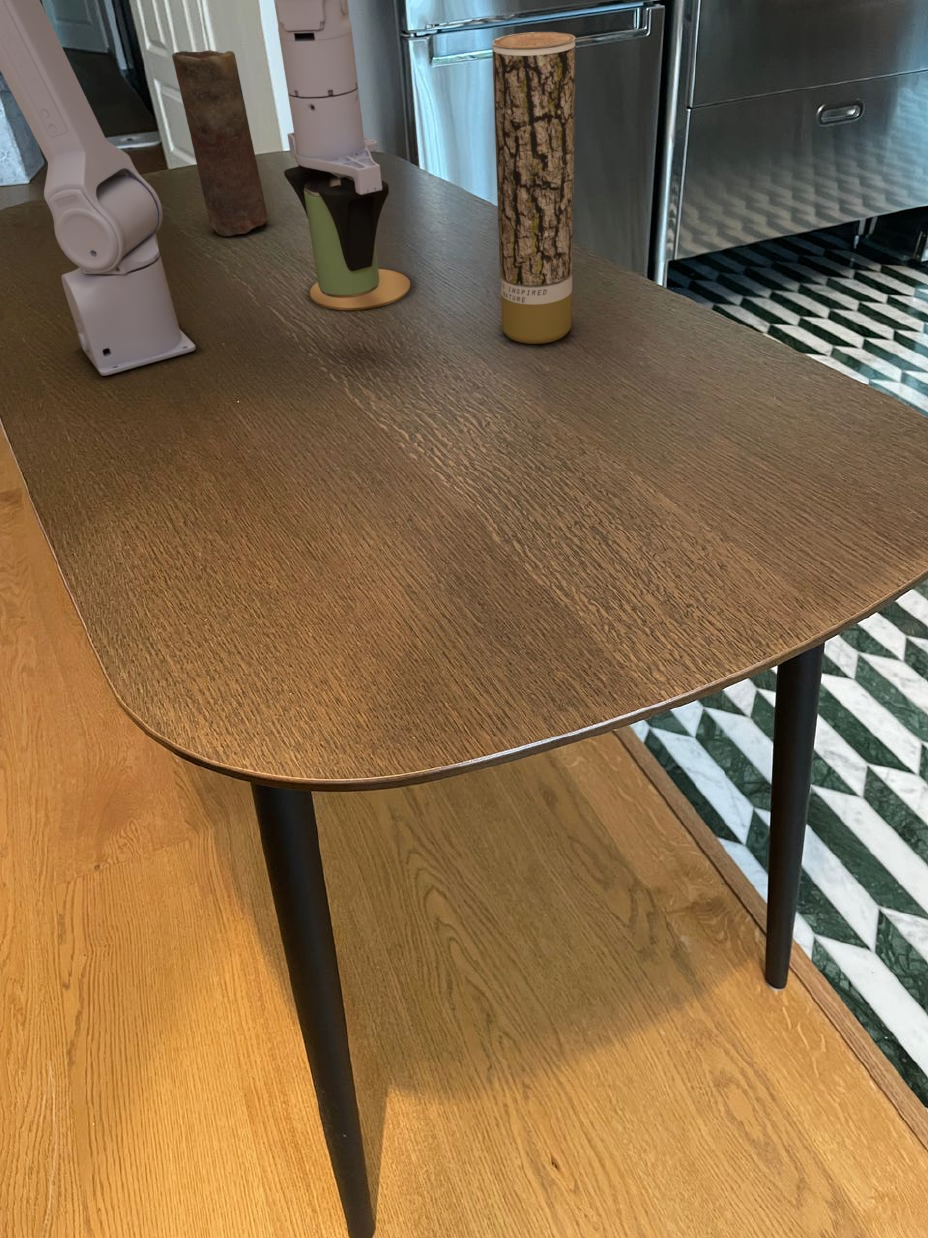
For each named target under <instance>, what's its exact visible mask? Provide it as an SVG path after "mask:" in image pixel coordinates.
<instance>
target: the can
mask: <svg viewBox="0 0 928 1238" xmlns="http://www.w3.org/2000/svg"><path fill="white" fill-rule="evenodd" d="M336 185H340V186H341V183H340V178H339V177H337V176H335V175H328V176H323V177H319V178H316V179H313V180H311V181H309V182H307V183H306V184H305V186H304V188H305V189H304V196H305V202H306V208H307V215H308V218H307V220H308V227H309V235H310V240H311V246H312V252H313V257H314V258H313V260H314V267H315V273H316V278H317V282H318V286H319V288H320V290H321V292H322V293H323V294H325V295H327V296H330V297H336V298H350V297H357V296H362V295H365V294H368V293H370V292H372V291H374V290H375V289H376V288H377V287H378V285H379V271H378V269H379V265H378V264H379V263H378V255H377V246H376V244H375V246H374V255H373V262H372V266H371V267H367V268H364V269H360V270H356V271H350V270H349V269H348V267H347V265H346V262H345V260H344V256H343V253H342V249H341V244H340V240H339V236H338V233H337V229H336V227H335V224H334V221H333V219H332V216H331V214H330V212H329V210H328V208H327V206H326V204H325V203H324V201H323V200H322V198H321V197H320V195H319V191H318V190H319V189H322V188H327V187H331V186H336ZM307 215H306V216H307Z"/></svg>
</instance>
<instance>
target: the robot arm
mask: <svg viewBox="0 0 928 1238" xmlns="http://www.w3.org/2000/svg"><path fill="white" fill-rule="evenodd" d="M273 2H274V8H275V15H276V21H277V31H278V37H279V45H280V51H281V57H282V64H283V70H284V77H285V82H286V83H285V84H286V89H287V90H286V91H287V97H288V103H289V108H290V116H291V123H292V128H293V132H288V133H287V134H286V135H287V140H288V141H287V142H288V148H289V153H290V157H291V158H292V159H295V162H296V164H297V166H293V167H290V168H286V169H285V170H284V171H283V174H284V177H285V179H286V180H287V182H288V183H289V185H290V186H291V187H292V189H293V191H294V192H295V194H296V196H297V198H298V199H299V202H300V203H301V206H302V208H303V210H304V212H305V215H306V218H307V219H308V215H307V208H306V202H305V196H304V189H305V188H304V186H305V184H306V183H307V182H309V181H311V180H313V179H316V178H319V177H323V176H328V175H335V176H337V177H339V178H340V183H341V186H340V185H336V186H331V187H327V188H322V189H319V190H318V191H319V195H320V197H321V198H322V200H323V201H324V203H325V204H326V206H327V208H328V210H329V212H330V214H331V216H332V219H333V221H334V224H335V227H336V229H337V233H338V236H339V240H340V244H341V249H342V253H343V256H344V260H345V262H346V265H347V267H348V269H349V270H350V271H356V270H360V269H364V268H367V267H371V266H372V262H373V255H374V246H375V245H376V236H377V229H378V225H379V220H380V217H381V213H382V209H383V207H384V205H385V203H386V200H387V198H388V196H389V193H390V186H389V183H387V182H386V181H384V180H382V173H381V164H378V163H377V162H375V161H374V159H373V156H372V154H371V153H372V152H376V151H378V141H377V140H375V139H373V138H370V137H365V136H364V135H365V134H364V126H363V118H362V110H361V100H360V90H359V80H358V73H357V63H356V56H355V55H356V54H355V46H354V45H355V44H354V38H353V30H352V29H353V28H352V27H353V26H352V22H351V19H350V12H349V3H348V0H273ZM0 73H1V74H2V77H3V78H4V80H5V82H6V84H7V86H8V88H9V90H10V92H11V94H12V96H13V98H14V100H15V101H16V103H17V105H18V107H19V110H20V112H21V114H22V115H23V118H24V120H25V121H26V123H27V125H28V127H29V128H30V130H31V133H32V134H33V136H34V139H35V140H36V142H37V145H38V146H39V148H40V150H41V152H42V154H43V156H44V158H45V160H46V162H47V172H46V177H45V183H44V189H43V198H44V200H45V202H46V204H47V206H48V208H49V210H50V213H51V215H52V219H53V227H54V235H55V239H56V241H57V243H58V245H59V247H60V249H61V250H62V252H63V253H64V255H65V256H66V257H67V259H69V261H71V262H72V263H73V264H75V265H76V266H78V268H76V269H74V270H72V271H69V272H66V273H64V274H62V275H61V284H62V288H63V291H64V295H65V297H66V301H67V303H68V306H69V310H70V312H71V315H72V319H73V321H74V324H75V328H76V331H77V336H78V340H79V343H80V345H81V349H82V350H83V352H84V354H86V356H87V357H88V359H89V360H90V362H91V363H92V365H93V366H94V368H95V369H96V371H98V373H99V374H100V375H101V376H103V377H106V376H110V375H114V374H117V373H121V372H124V371H128V370H131V369H132V370H133V369H135V368H138V367H142V366H147V365H149V364H153V363H155V362H160V361H163V360H167V359H171V358H175V357H177V356H181V355H185V354H188V353H191V352H192V353H193V352H195V351H196V349H197V348H196V345H195V344H194V342H193V341H192V340H191V339H190V338H189V337H188V336H187V335H186V333H184V332H183V331H182V330H181V329H180V326H179V323H178V318H177V315H176V312H175V311H176V310H175V307H174V302H173V299H172V295H171V291H170V288H169V283H168V280H167V276H166V272H165V268H164V264H163V260H162V256H161V254H160V250H159V245H160V244H159V241H158V237H157V233H158V232H159V230H160V228H161V227H162V223H163V217H164V216H163V215H164V213H163V206H162V203H161V200H160V198H159V195H158V194H157V192H156V191H155V189H154V188H153V187H152V185H151V184H150V183H149V182H148V181H146V180H145V178H143V177H142V176H141V174H140V173H139V171H138V170H137V169H136V166H135V165H134V163H133V161H132V159H131V157H130V155H129V154H128V153H127V152H125V151H123V150H122V149H121V148H119V147H118V146H116V145H115V144H113V143H111V142H110V141H109V140H107V138H106V136H105V134H104V132H103V130H102V128H101V126H100V124H99V121H98V119H97V117H96V115H95V113H94V111H93V110H92V107H91V105H90V103H89V101H88V99H87V96H86V95H85V93H84V90H83V89H82V86H81V84H80V82H79V80H78V78H77V76H76V73H75V72H74V69H73V67H72V65H71V63H70V61H69V59H68V57H67V55H66V53H65V51H64V48H63V46H62V43H61V42H60V40H59V38H58V36H57V34H56V32H55V30H54V27H53V25H52V23H51V21H50V19H49V17H48V15H47V12H46V11H45V9H44V6H43V4H42V2H41V0H0Z"/></svg>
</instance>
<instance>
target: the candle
mask: <svg viewBox="0 0 928 1238" xmlns="http://www.w3.org/2000/svg"><path fill="white" fill-rule="evenodd" d="M171 57H172V62H173V65H174V71H175V74H176V79H177V83H178V88H179V91H180V96H181V101H182V104H183V105H182V106H183V108H184V114H185V117H186V122H187V127H188V130H189V135H190V140H191V144H192V149H193V155H194V158H195V162H196V168H197V172H198V176H199V180H200V185H201V189H202V195H203V199H204V203H205V207H206V211H207V216H208V220H209V224H210V227H211V228H212V230H214V231H215V232H216V233H217V234H218V235H219V236H221V237H233V236H236V235H245V234H247V233H249V232H250V231H251V230H252V229H256V228H259V227H262V226H263V225H264V224H265V223H266V222H267V220H268V212H267V205H266V201H265V197H264V191H263V186H262V181H261V176H260V172H259V168H258V163H257V157H256V153H255V150H254V149H255V147H254V144H253V138H252V134H251V129H250V124H249V118H248V114H247V109H246V104H245V98H244V94H243V93H244V92H243V88H242V84H241V83H242V82H241V79H240V74H239V68H238V63H237V58H236V54H235V52H234V51H233V50H232V51H231V50H227V51H225V52H220V51H217V50H212V49H211V50H210V49H209V50H204V51H203V50H202V51H178V52H177V51H176V52H174V53H173V54H172V55H171Z"/></svg>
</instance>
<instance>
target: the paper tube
mask: <svg viewBox="0 0 928 1238" xmlns="http://www.w3.org/2000/svg"><path fill="white" fill-rule="evenodd" d="M575 39H576V36H575V35H573V34H570V33H567V32H557V31H531V32H520V33H512V34H508V35H503V36H500V37H497V38H495V39H494V40H492V45H493V46H492V50H491V51H492V52H491V53H492V79H493V80H492V82H493V107H494V110H493V111H494V136H495V137H494V138H495V139H494V140H495V166H496V167H495V169H496V170H495V171H496V193H497V194H496V196H497V200H496V201H497V227H498V228H497V229H498V256H499V257H498V258H499V283H500V284H499V285H500V288H499V289H500V307H501V309H500V311H501V328H502V331H503V333H504V334H505V336H506V337H507V338H508V339H511V340H512V341H515V342H517V343H521V344H529V345H542V344H548V343H552V342H556V341H557V340H558V341H559V340H560V339H562V338H563V337H565V336H566V335H567V334H568V333H569V331H570V330H571V327H572V308H573V307H572V305H573V304H572V301H573V300H572V299H573V295H572V294H573V253H574V252H573V251H574V250H573V247H574V237H573V236H574V184H575V183H574V182H575V181H574V180H575V179H574V178H575V172H574V171H575V116H576V114H575V111H576V110H575V109H576V47H577V45H576V41H575Z"/></svg>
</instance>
